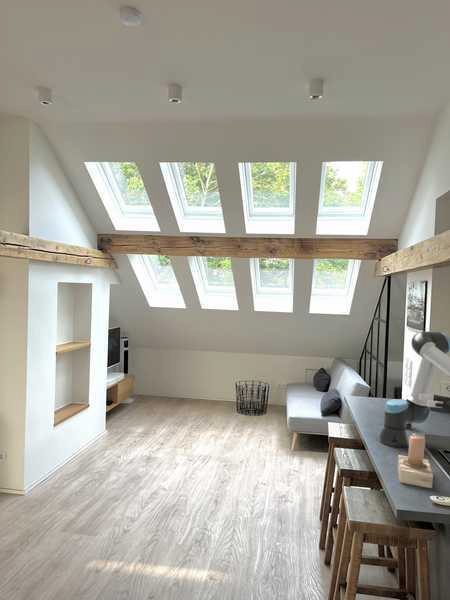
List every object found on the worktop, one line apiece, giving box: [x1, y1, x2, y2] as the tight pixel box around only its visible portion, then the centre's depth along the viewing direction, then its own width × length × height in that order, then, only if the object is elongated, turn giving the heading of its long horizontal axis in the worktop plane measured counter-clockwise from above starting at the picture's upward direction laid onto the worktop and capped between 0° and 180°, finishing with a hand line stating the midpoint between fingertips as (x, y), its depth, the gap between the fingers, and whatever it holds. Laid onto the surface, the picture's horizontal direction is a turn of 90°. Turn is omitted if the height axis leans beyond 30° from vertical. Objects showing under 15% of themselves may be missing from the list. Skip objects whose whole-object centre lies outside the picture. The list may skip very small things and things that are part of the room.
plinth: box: [397, 454, 434, 489], centre depth 210 cm, size 20×13×6 cm, turn 162°
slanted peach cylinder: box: [407, 434, 426, 466], centre depth 210 cm, size 6×6×12 cm
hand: (423, 400), depth 224 cm, fingers open, 13 cm apart
